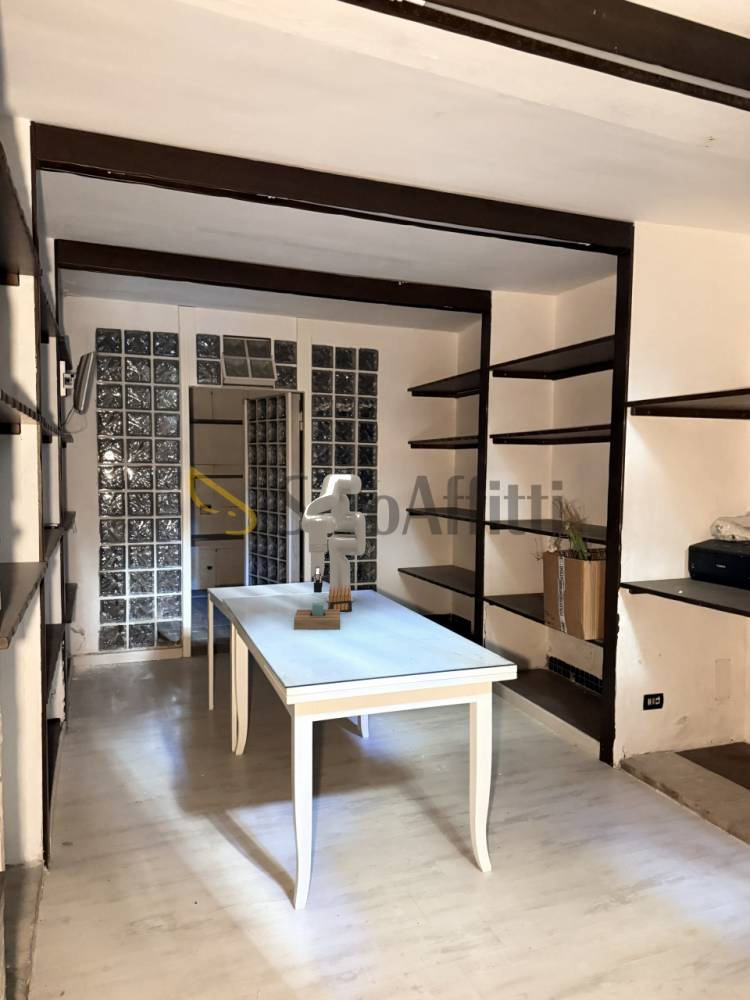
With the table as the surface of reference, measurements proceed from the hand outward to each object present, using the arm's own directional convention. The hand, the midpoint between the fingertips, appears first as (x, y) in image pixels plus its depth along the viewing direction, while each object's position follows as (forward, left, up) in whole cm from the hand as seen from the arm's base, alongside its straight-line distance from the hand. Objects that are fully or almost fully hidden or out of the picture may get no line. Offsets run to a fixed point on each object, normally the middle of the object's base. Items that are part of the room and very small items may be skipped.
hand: (318, 589), depth 273 cm
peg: (0, 0, -14) cm, 14 cm away
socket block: (+1, 0, -14) cm, 14 cm away
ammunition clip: (-20, +9, -14) cm, 26 cm away
